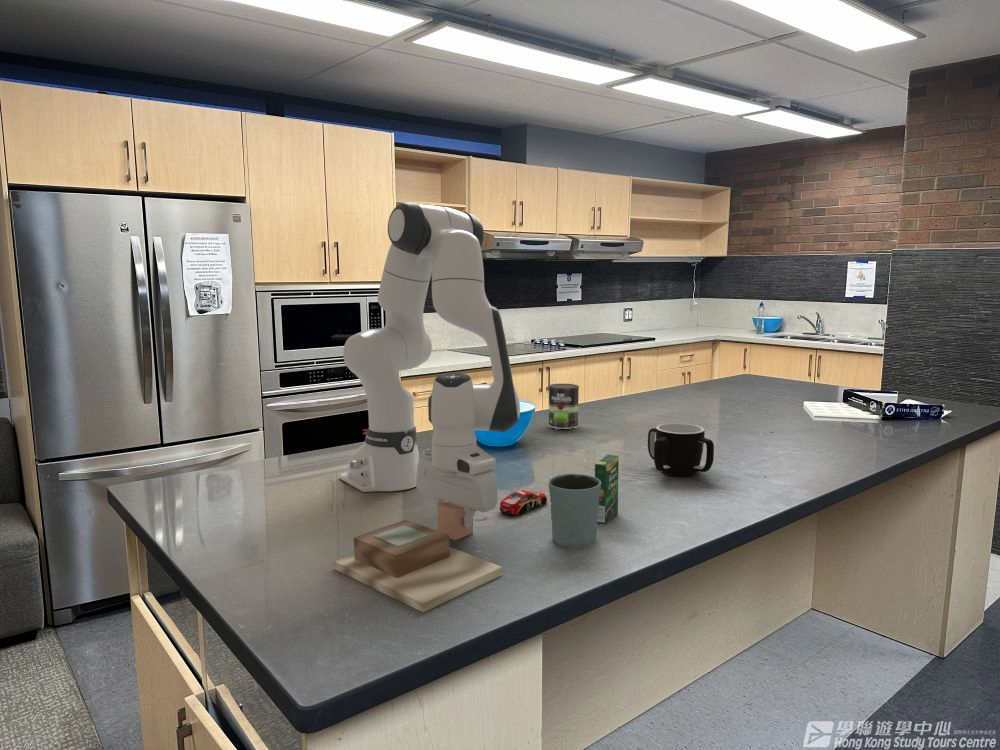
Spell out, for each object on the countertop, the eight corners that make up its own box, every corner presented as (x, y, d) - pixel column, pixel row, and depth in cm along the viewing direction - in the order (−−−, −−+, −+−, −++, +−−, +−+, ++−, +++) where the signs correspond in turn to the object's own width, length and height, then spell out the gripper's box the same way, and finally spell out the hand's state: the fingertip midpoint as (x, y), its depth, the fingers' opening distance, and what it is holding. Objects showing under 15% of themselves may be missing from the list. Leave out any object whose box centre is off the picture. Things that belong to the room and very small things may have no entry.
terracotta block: (437, 534, 139) (437, 505, 138) (455, 527, 142) (455, 499, 141) (455, 540, 135) (454, 510, 134) (473, 533, 139) (472, 504, 138)
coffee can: (575, 430, 228) (575, 388, 226) (545, 429, 231) (545, 387, 229) (581, 424, 238) (581, 384, 236) (552, 422, 241) (552, 382, 239)
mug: (713, 483, 170) (715, 436, 168) (647, 480, 173) (648, 433, 171) (707, 465, 186) (709, 422, 184) (647, 462, 189) (648, 420, 187)
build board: (334, 568, 122) (332, 538, 122) (412, 539, 136) (411, 512, 135) (423, 612, 106) (422, 577, 106) (502, 574, 119) (501, 543, 119)
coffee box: (606, 526, 142) (607, 464, 140) (592, 523, 143) (593, 462, 142) (618, 514, 149) (620, 455, 147) (606, 512, 150) (607, 453, 148)
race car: (532, 498, 161) (533, 482, 160) (551, 503, 157) (551, 486, 157) (495, 513, 151) (495, 495, 150) (514, 519, 147) (514, 501, 147)
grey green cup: (595, 530, 140) (596, 473, 138) (604, 550, 130) (605, 488, 128) (545, 531, 140) (546, 473, 138) (551, 551, 130) (551, 489, 128)
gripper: (407, 449, 141) (409, 514, 143) (479, 468, 127) (480, 539, 129) (431, 444, 146) (432, 507, 148) (502, 461, 132) (502, 530, 134)
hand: (455, 522), depth 138 cm, fingers closed on terracotta block, 5 cm apart
